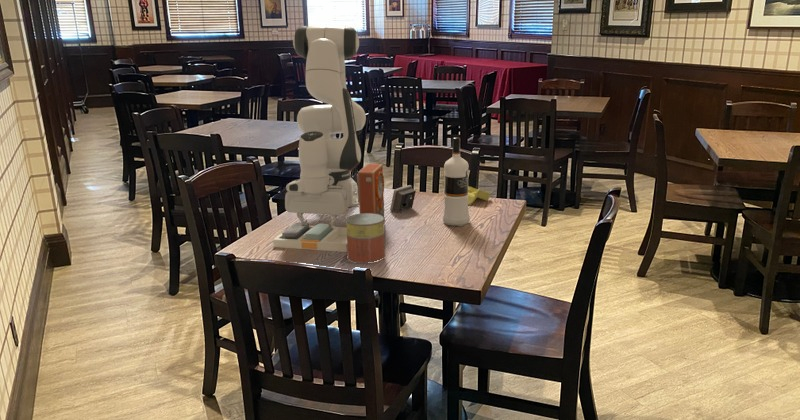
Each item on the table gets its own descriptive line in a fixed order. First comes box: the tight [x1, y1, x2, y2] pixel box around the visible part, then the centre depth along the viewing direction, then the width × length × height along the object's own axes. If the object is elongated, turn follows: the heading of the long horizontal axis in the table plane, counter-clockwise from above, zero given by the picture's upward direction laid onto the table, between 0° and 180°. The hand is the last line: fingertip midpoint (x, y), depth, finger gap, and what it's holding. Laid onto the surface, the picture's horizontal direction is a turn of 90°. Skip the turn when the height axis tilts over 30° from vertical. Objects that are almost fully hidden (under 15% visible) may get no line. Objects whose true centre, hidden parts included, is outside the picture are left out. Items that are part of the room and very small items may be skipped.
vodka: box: [442, 136, 471, 227], centre depth 206 cm, size 9×9×30 cm
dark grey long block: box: [281, 222, 310, 240], centre depth 195 cm, size 11×4×4 cm, turn 166°
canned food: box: [345, 213, 386, 264], centre depth 179 cm, size 11×11×12 cm
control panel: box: [356, 163, 386, 222], centre depth 203 cm, size 21×7×15 cm
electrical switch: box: [389, 184, 417, 214], centre depth 225 cm, size 9×5×9 cm, turn 138°
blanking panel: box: [305, 223, 332, 241], centre depth 193 cm, size 11×4×4 cm, turn 165°
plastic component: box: [443, 178, 491, 206], centre depth 240 cm, size 20×7×10 cm
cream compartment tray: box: [272, 224, 348, 254], centre depth 193 cm, size 16×24×3 cm, turn 76°
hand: (317, 226), depth 192 cm, fingers open, 8 cm apart
